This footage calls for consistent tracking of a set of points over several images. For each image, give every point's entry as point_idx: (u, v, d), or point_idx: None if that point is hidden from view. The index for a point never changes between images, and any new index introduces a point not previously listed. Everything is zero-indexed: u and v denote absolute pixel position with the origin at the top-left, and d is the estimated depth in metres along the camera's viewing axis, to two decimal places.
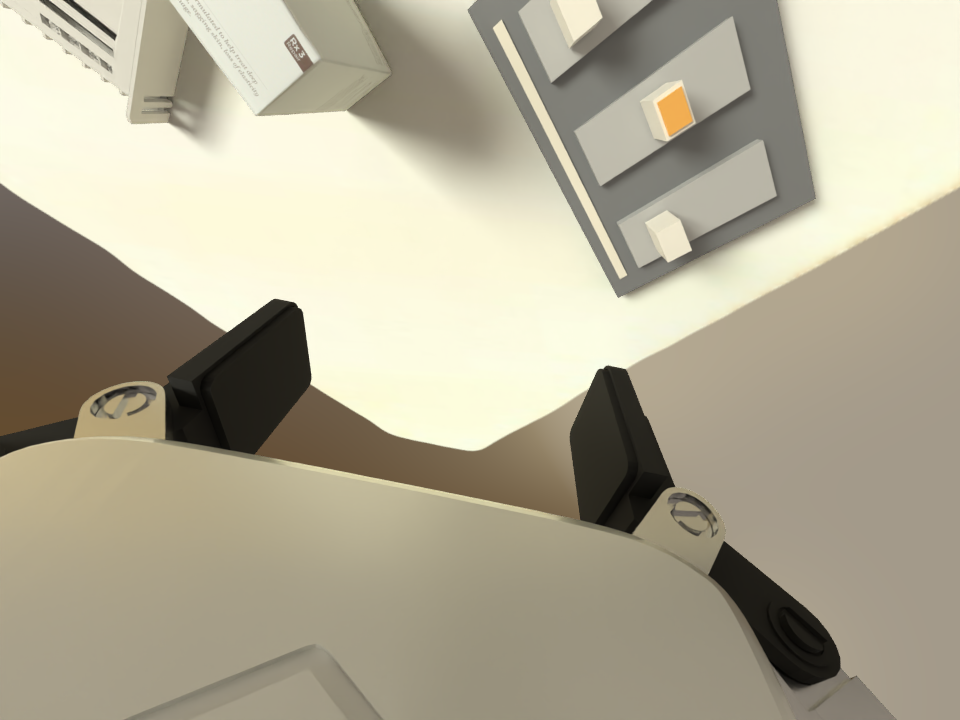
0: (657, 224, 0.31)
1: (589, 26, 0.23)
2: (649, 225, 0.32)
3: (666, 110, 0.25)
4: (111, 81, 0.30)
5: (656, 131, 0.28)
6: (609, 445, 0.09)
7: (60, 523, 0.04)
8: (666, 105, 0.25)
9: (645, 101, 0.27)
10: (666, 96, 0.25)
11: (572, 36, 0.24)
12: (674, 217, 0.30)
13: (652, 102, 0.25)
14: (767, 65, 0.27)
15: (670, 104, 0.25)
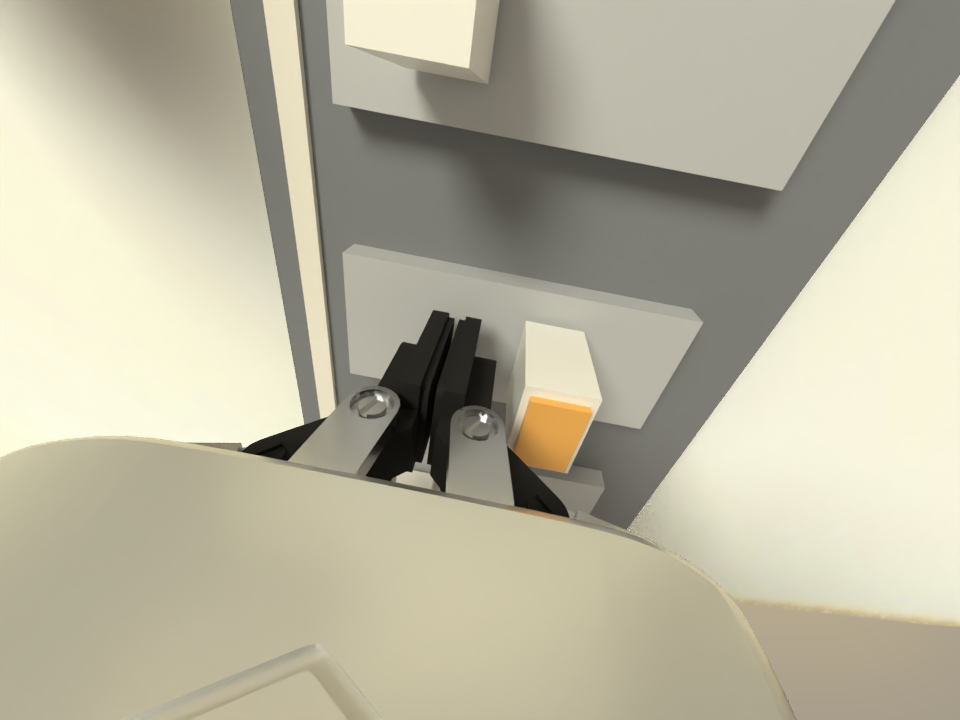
0: None
1: (416, 49, 0.06)
2: None
3: (535, 425, 0.10)
4: None
5: (509, 403, 0.12)
6: None
7: (60, 523, 0.04)
8: (542, 418, 0.09)
9: (525, 346, 0.11)
10: (554, 405, 0.09)
11: (347, 19, 0.06)
12: None
13: (524, 386, 0.09)
14: (679, 409, 0.15)
15: (550, 422, 0.09)
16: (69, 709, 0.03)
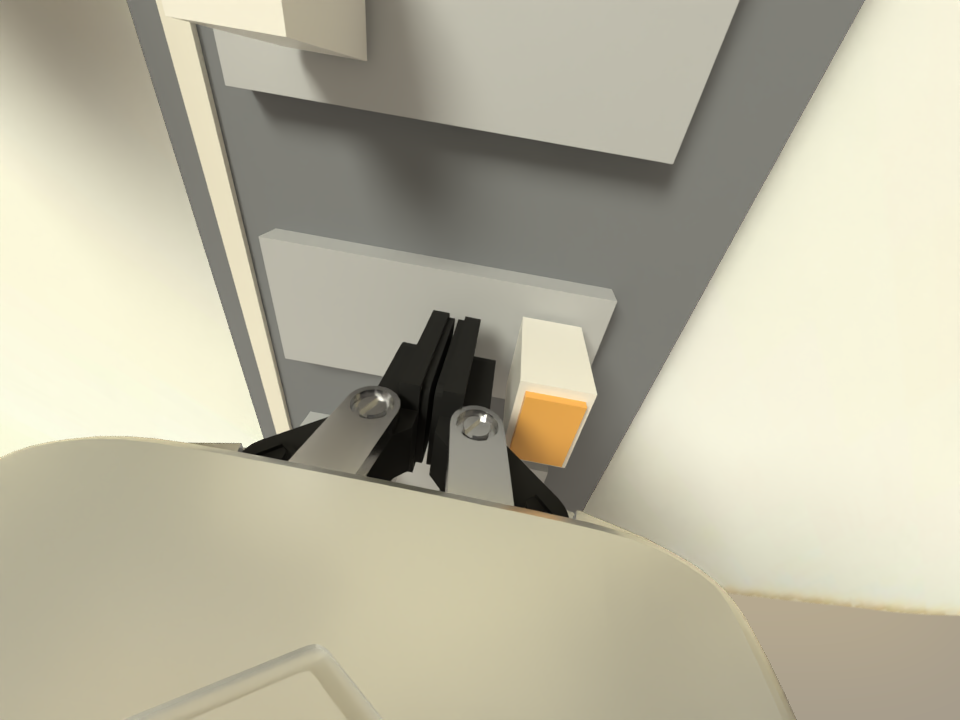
0: None
1: (232, 19, 0.06)
2: None
3: (531, 420, 0.10)
4: None
5: (507, 399, 0.12)
6: None
7: (60, 523, 0.04)
8: (537, 413, 0.09)
9: (522, 342, 0.11)
10: (550, 400, 0.09)
11: None
12: None
13: (519, 381, 0.09)
14: (614, 392, 0.15)
15: (545, 417, 0.09)
16: (70, 709, 0.03)
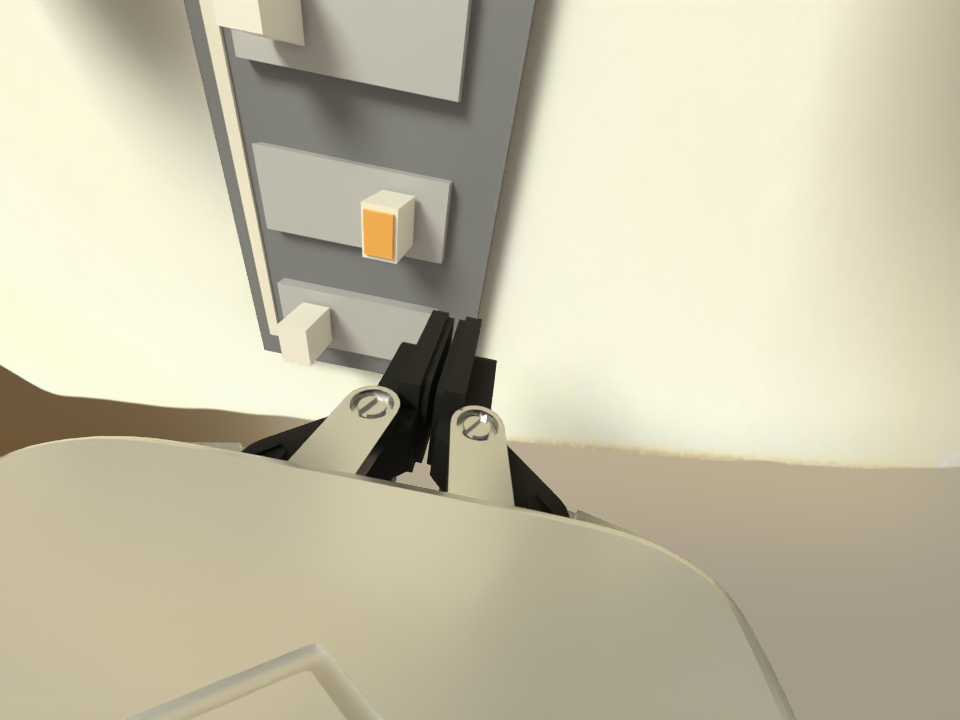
0: (297, 315, 0.25)
1: (242, 27, 0.15)
2: (296, 309, 0.26)
3: (369, 225, 0.19)
4: None
5: None
6: None
7: (60, 523, 0.04)
8: (371, 220, 0.19)
9: (374, 195, 0.20)
10: (375, 211, 0.19)
11: (216, 16, 0.15)
12: (311, 322, 0.25)
13: (361, 203, 0.19)
14: (469, 255, 0.25)
15: (375, 223, 0.19)
16: (69, 709, 0.03)
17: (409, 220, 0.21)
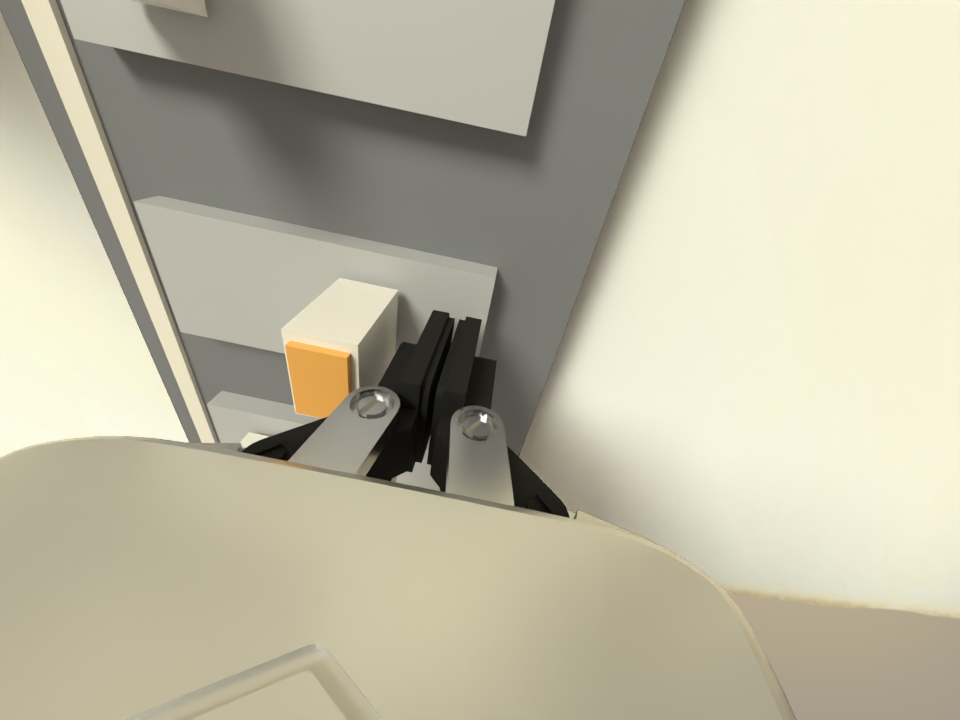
0: None
1: None
2: None
3: (301, 371, 0.10)
4: None
5: None
6: None
7: (60, 523, 0.04)
8: (303, 364, 0.09)
9: (318, 298, 0.11)
10: (310, 349, 0.09)
11: None
12: None
13: None
14: (516, 374, 0.15)
15: (313, 368, 0.09)
16: (70, 709, 0.03)
17: (386, 335, 0.12)
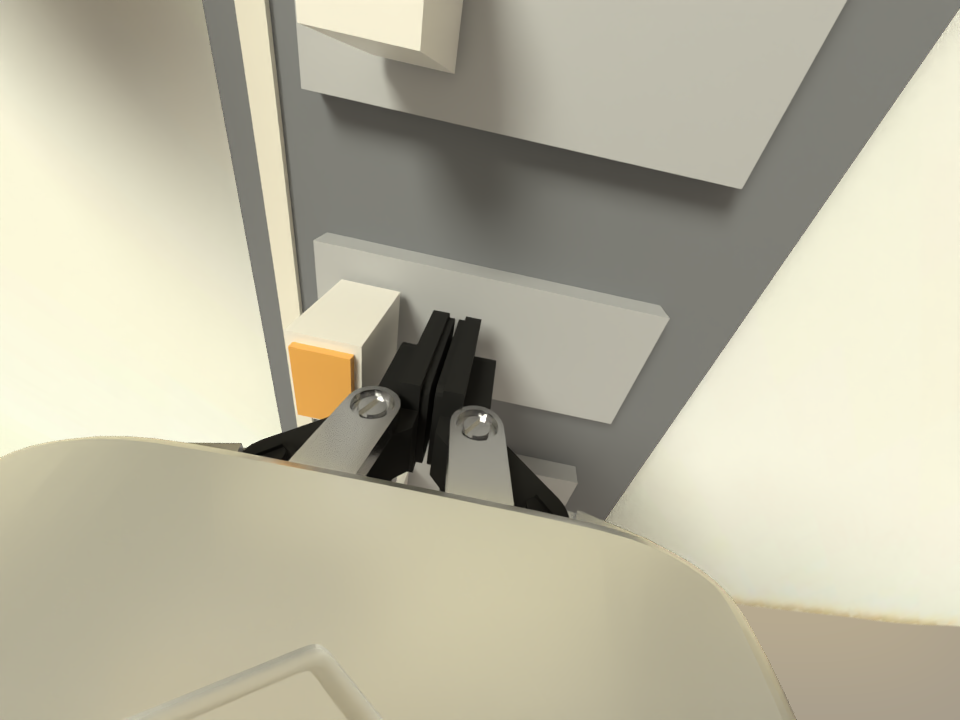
0: None
1: (367, 30, 0.06)
2: None
3: (304, 373, 0.09)
4: None
5: None
6: None
7: (60, 523, 0.04)
8: (306, 365, 0.09)
9: (320, 299, 0.11)
10: (313, 350, 0.09)
11: None
12: None
13: (287, 332, 0.09)
14: (650, 405, 0.15)
15: (315, 370, 0.09)
16: (69, 709, 0.03)
17: (388, 337, 0.12)
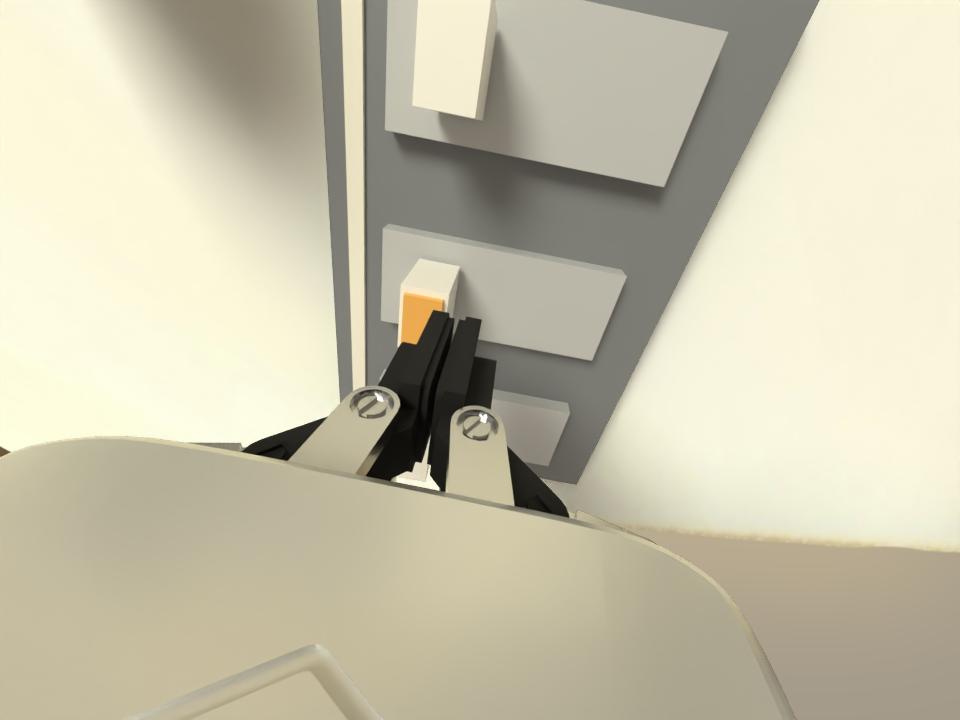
0: None
1: (448, 109, 0.11)
2: None
3: (410, 313, 0.15)
4: None
5: None
6: None
7: (60, 523, 0.04)
8: (413, 307, 0.15)
9: (412, 269, 0.16)
10: (419, 297, 0.14)
11: (414, 94, 0.11)
12: None
13: (401, 286, 0.15)
14: (620, 348, 0.21)
15: (418, 310, 0.15)
16: (69, 709, 0.03)
17: (453, 297, 0.17)
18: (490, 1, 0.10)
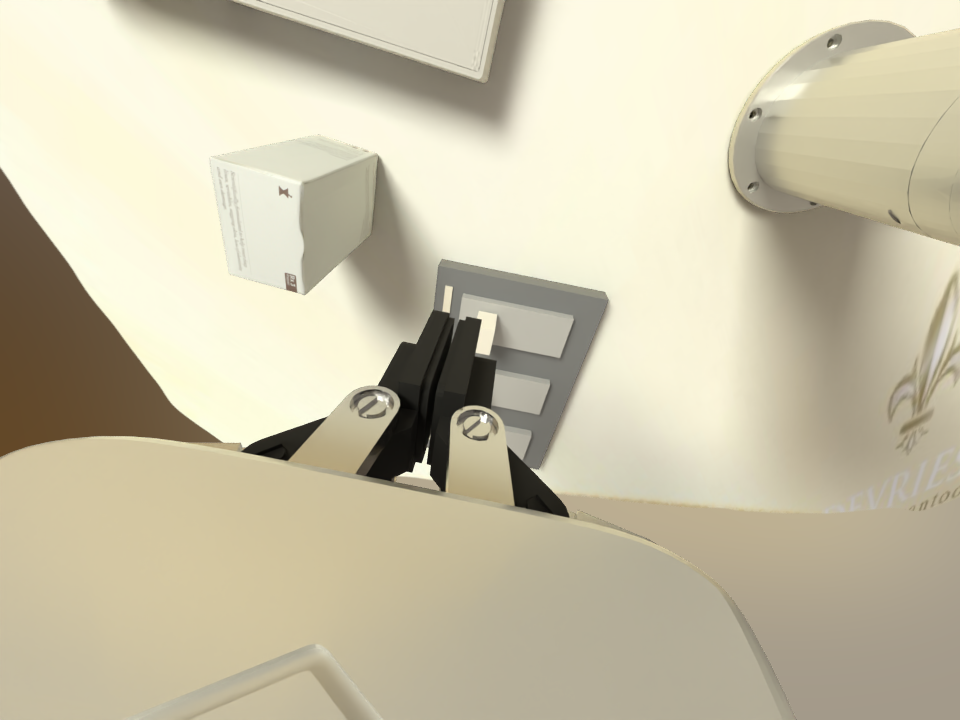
0: None
1: (481, 353, 0.37)
2: None
3: None
4: None
5: None
6: None
7: (60, 523, 0.04)
8: None
9: None
10: None
11: None
12: None
13: None
14: (553, 408, 0.46)
15: None
16: (69, 709, 0.03)
17: None
18: (494, 332, 0.35)
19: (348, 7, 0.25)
